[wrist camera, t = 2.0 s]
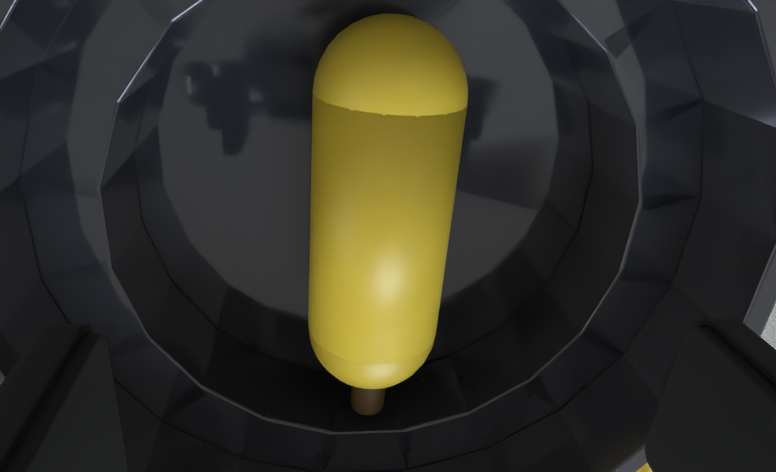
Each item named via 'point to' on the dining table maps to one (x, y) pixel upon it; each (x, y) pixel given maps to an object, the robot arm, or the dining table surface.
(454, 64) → the yellow ice pop
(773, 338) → the dining table surface
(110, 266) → the round dish
